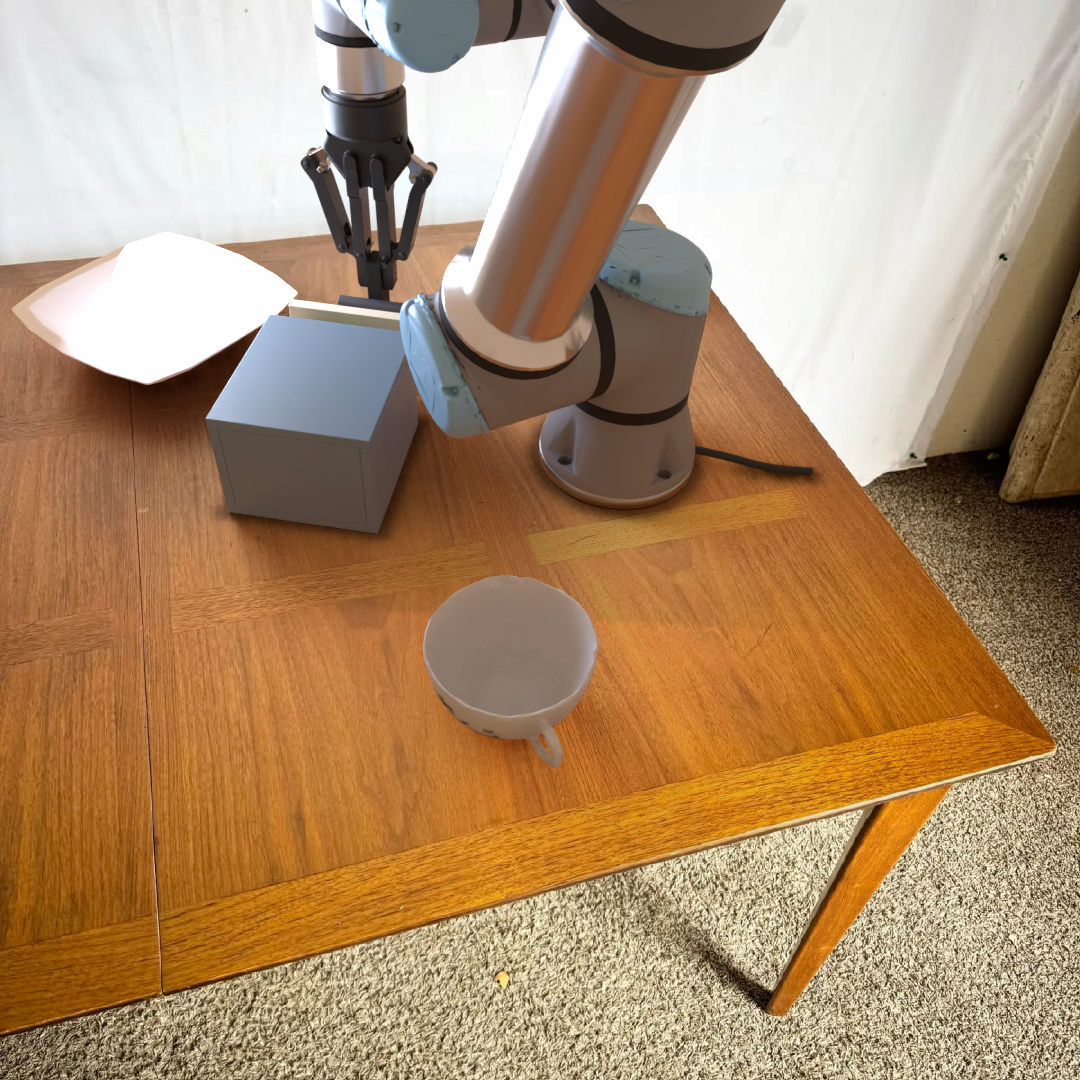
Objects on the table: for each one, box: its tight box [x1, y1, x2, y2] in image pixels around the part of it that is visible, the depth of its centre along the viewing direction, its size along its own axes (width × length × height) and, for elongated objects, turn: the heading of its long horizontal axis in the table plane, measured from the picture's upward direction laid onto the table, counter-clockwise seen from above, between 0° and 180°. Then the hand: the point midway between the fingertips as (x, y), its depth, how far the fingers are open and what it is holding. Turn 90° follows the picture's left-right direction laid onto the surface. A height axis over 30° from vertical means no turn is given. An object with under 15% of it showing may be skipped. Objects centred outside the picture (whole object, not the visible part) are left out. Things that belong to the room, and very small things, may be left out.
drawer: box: [287, 294, 420, 397], centre depth 93 cm, size 21×13×9 cm, turn 172°
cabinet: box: [205, 314, 419, 534], centre depth 88 cm, size 16×14×11 cm
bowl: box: [11, 231, 298, 386], centre depth 101 cm, size 22×23×6 cm
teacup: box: [422, 574, 600, 769], centre depth 71 cm, size 15×12×8 cm
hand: (380, 312), depth 102 cm, fingers closed
